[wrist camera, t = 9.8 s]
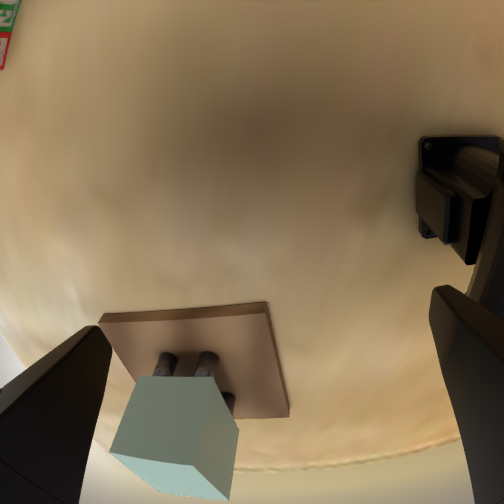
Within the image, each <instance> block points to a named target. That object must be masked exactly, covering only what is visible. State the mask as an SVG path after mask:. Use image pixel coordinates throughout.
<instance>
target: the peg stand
mask: <svg viewBox="0 0 504 504" xmlns="http://www.w3.org/2000/svg"><path fill="white" fill-rule="evenodd" d="M98 324H99V326H100V328H101V329H102V331H103V333H104V334H105V336H106V338H107V339H108V341H109V342H110V344H111V346H112V347H113V349H114V351H115V352H116V354H117V355H118V357H119V358H120V360H121V361H122V363H123V364H124V366H125V367H126V369H127V370H128V372H129V373H130V375H131V376H132V378H133V379H134V381H135V382H137V380H138V378H139V376H162V377H213V378H214V380H215V383H216V385H217V387H218V389H219V391H220V393H221V395H222V397H223V399H224V401H225V403H226V405H227V407H228V409H229V411H230V413H231V415H232V417H233V419H263V418H284V417H289V403H288V398H287V394H286V389H285V385H284V380H283V376H282V371H281V367H280V362H279V358H278V354H277V349H276V345H275V340H274V336H273V331H272V327H271V322H270V318H269V313H268V309H267V304H266V302H260V303H250V304H240V305H229V306H218V307H206V308H194V309H181V310H166V311H151V312H133V313H113V314H103V316H102V317H101V319H100V320H99V322H98Z"/></svg>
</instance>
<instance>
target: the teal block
mask: <svg viewBox="0 0 504 504" xmlns="http://www.w3.org/2000/svg"><path fill="white" fill-rule="evenodd" d="M238 434H239V429H238V427H237V425H236V423H235V421H234V419H233V417H232V415H231V413H230V411H229V409H228V407H227V405H226V403H225V401H224V399H223V397H222V395H221V393H220V391H219V389H218V387H217V385H216V383H215V380H214V378H213V377H162V376H139V378H138V380H137V382H136V385H135V387H134V390H133V392H132V395H131V397H130V400H129V402H128V405H127V407H126V410H125V412H124V415H123V417H122V420H121V422H120V425H119V427H118V430H117V433H116V435H115V438H114V440H113V443H112V446H111V448H110V451H109V452H110V453H111V454H112V455H113V456H114V457H115V458H117V459H118V460H119V461H120V462H122V463H123V464H124V465H125V466H126V467H128V468H129V469H130V470H131V471H133V472H134V473H135V474H137V475H138V476H139V477H140V478H142V479H143V480H145V481H146V482H147V483H149V484H150V485H151V486H152V487H154V488H155V489H157V490H158V491H160V492H164V493H170V494H177V495H183V496H190V497H198V498H207V499H217V500H229V497H230V490H231V483H232V476H233V469H234V462H235V455H236V448H237V441H238Z"/></svg>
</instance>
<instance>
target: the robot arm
mask: <svg viewBox="0 0 504 504" xmlns="http://www.w3.org/2000/svg"><path fill="white" fill-rule="evenodd" d="M497 141H498V145H497V146H496V142H497ZM426 142H429V144H430V145H429V147H428V148H427V149H426V148H425V144H426ZM419 168H420V171H418V173H417V174H416V182H417V206H416V211H417V213H418V214H419V233H420V234H421V236H422V237H423V238H425V239H429V238H436V237H438V238H439V239H440V240H441V241H442V243H443V244H445V245H449V244H450V245H451V246H452V248H453V249H454V250H455V251H456V253H457V254H458V255H459V256H460V258H461V259H462V260H463V261H464V263H465V264H466V265H473V264H476V265H475V268H474V271H473V274H472V278H471V281H470V284H469V287H468V290H467V292H466V293H465V294H463V293H462V292H460V291H458V290H457V289H455V288H453V287H452V286H450V285H443V286H438V287H435V288H434V289H433V290H432V295H431V302H430V309H429V323H430V326H431V330H432V334H433V338H434V342H435V346H436V350H437V354H438V358H439V363H440V367H441V371H442V375H443V378H444V382H445V385H446V388H447V391H448V394H449V397H450V400H451V404H452V407H453V410H454V414H455V417H456V421H457V424H458V428H459V432H460V435H461V439H462V443H463V447H464V451H465V455H466V459H467V464H468V469H469V474H470V479H471V483H472V489H473V495H474V501H475V504H504V138H501V137H499V136H496V135H445V136H424V137H422V138H421V139H420V141H419ZM427 228H429V230H428V231H427V232H426V233H425V230H426V229H427ZM111 357H112V346H111V344H110V342H109V341H108V339H107V338H106V336H105V334H104V333H103V331H102V330H101V328H100V327H99V326H96V325H90V326H85V327H84V328H82V329H81V330H80V331H78V332H77V333H75V334H74V335H73V336H71V337H70V338H68V339H67V340H66V341H64V342H63V343H61V344H60V345H59V346H57V347H56V348H55V349H53V350H52V351H50V352H49V353H48V354H46V355H45V356H44V357H42V358H41V359H40V360H38V361H37V362H36V363H34V364H33V365H32V366H30V367H29V368H27V369H26V370H25V371H23V372H22V373H21V374H19V375H18V376H17V377H16V378H14V379H13V380H12V381H10V382H9V383H8V384H6V385H5V386H4V387H3V388H1V389H0V504H79V499H80V494H81V488H82V483H83V479H84V474H85V469H86V464H87V460H88V455H89V451H90V447H91V443H92V439H93V435H94V431H95V427H96V423H97V419H98V415H99V412H100V408H101V404H102V401H103V397H104V392H105V387H106V382H107V377H108V372H109V367H110V362H111Z"/></svg>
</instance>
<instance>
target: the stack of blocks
mask: <svg viewBox="0 0 504 504" xmlns="http://www.w3.org/2000/svg"><path fill="white" fill-rule="evenodd" d="M20 3H21V0H0V70H2V69H4V64H5V59H6V54H7V50H8V46H9V41H10V37H11V33H12V29H13V25H14V22H15V18H16V15H17V12H18V9H19V6H20Z"/></svg>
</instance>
